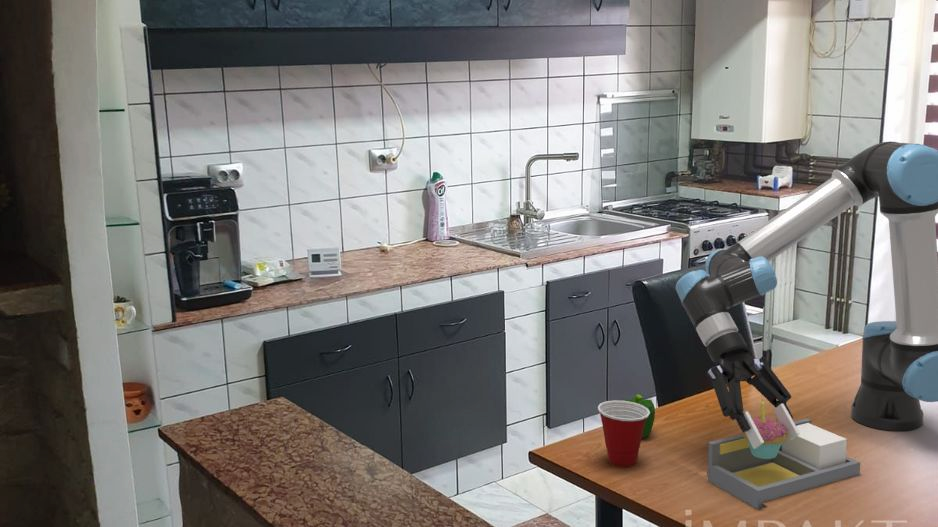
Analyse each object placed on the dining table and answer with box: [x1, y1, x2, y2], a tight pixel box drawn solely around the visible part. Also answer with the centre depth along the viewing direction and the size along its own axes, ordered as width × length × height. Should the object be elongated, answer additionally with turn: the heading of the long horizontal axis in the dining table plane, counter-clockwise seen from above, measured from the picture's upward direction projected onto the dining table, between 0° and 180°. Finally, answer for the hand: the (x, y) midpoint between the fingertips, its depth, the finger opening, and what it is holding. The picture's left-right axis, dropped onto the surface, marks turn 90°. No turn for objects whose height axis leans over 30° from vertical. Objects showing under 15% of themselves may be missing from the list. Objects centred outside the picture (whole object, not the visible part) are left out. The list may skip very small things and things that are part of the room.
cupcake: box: [741, 398, 788, 459], centre depth 172 cm, size 9×8×12 cm
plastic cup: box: [597, 400, 650, 468], centre depth 187 cm, size 11×11×12 cm
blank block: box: [782, 423, 848, 470], centre depth 178 cm, size 7×10×7 cm
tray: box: [707, 417, 861, 510], centre depth 175 cm, size 26×14×8 cm, turn 115°
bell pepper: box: [620, 394, 656, 439], centre depth 201 cm, size 8×8×10 cm
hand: (777, 441), depth 169 cm, fingers closed on cupcake, 8 cm apart
